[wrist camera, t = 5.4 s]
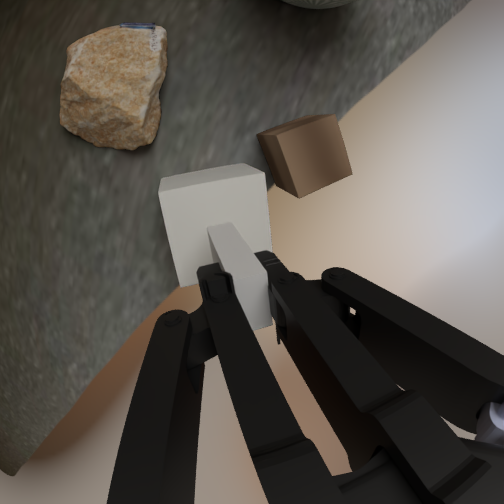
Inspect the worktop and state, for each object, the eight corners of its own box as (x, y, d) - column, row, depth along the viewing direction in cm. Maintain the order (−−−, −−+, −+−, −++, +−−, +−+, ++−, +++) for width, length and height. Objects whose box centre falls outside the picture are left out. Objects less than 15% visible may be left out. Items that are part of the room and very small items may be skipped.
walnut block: (276, 185, 26) (299, 198, 21) (256, 134, 23) (276, 135, 19) (322, 165, 26) (352, 174, 22) (306, 115, 24) (335, 114, 19)
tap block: (177, 254, 26) (180, 287, 20) (161, 178, 23) (158, 192, 17) (252, 238, 27) (273, 266, 22) (243, 162, 24) (264, 172, 19)
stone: (175, 32, 18) (176, 12, 14) (155, 149, 22) (151, 153, 18) (81, 33, 15) (64, 16, 11) (62, 148, 19) (40, 153, 15)
